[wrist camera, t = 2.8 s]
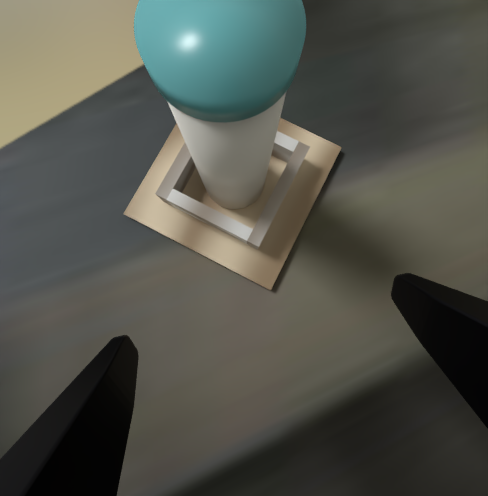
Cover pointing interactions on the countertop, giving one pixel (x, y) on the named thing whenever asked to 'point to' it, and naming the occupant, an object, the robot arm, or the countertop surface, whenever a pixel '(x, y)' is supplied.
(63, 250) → the countertop surface
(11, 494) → the robot arm
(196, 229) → the housing
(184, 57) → the white tall cylindrical piece
